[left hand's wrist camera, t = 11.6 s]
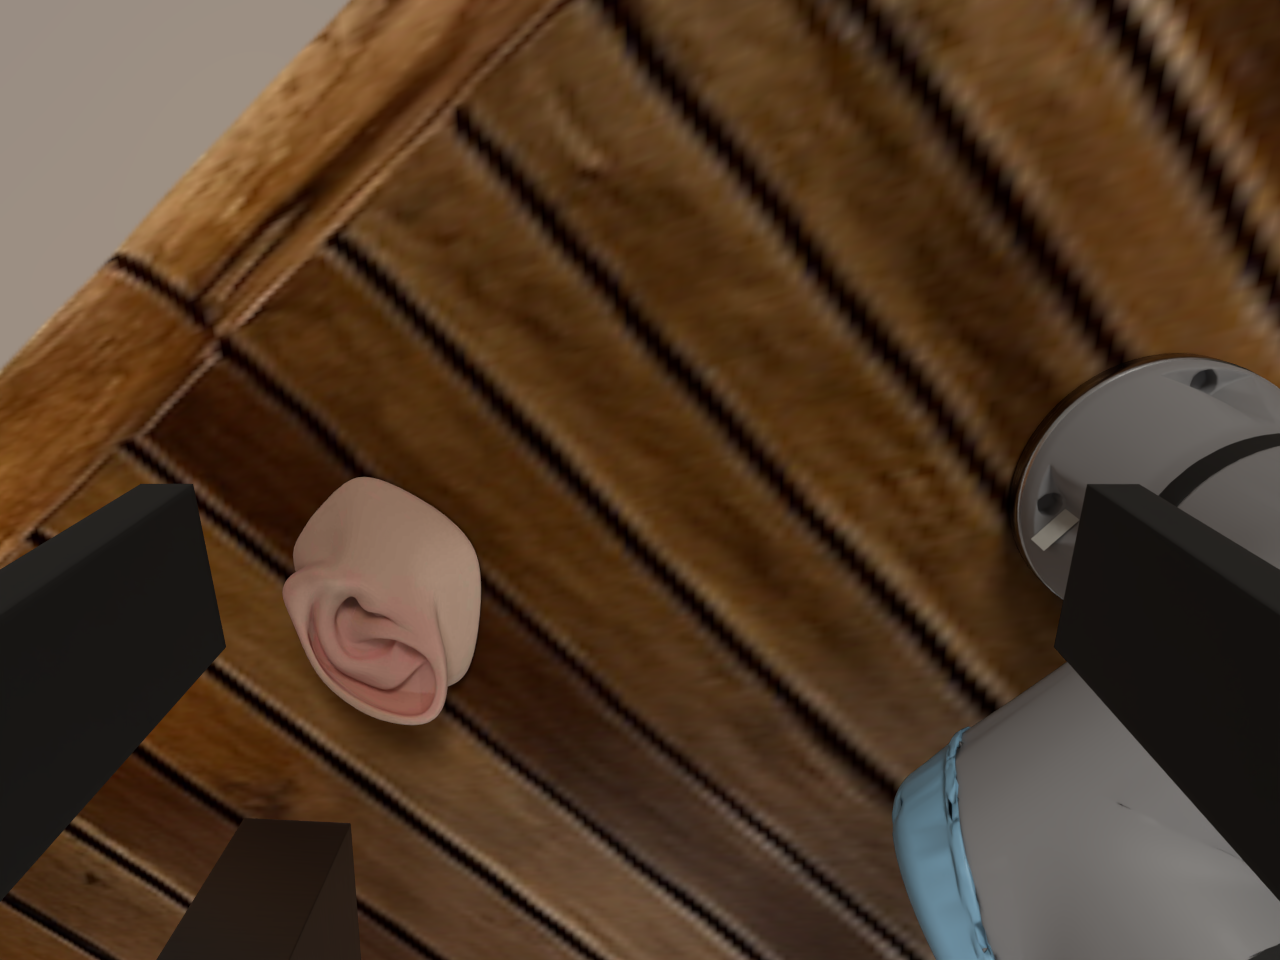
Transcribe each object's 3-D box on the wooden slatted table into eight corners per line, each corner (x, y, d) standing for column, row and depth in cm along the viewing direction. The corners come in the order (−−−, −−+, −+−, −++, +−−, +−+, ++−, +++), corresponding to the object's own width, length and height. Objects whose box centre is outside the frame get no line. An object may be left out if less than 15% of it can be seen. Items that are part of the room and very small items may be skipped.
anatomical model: (283, 483, 41) (502, 547, 43) (312, 458, 45) (513, 517, 46) (244, 694, 46) (444, 746, 47) (274, 655, 49) (458, 704, 51)
